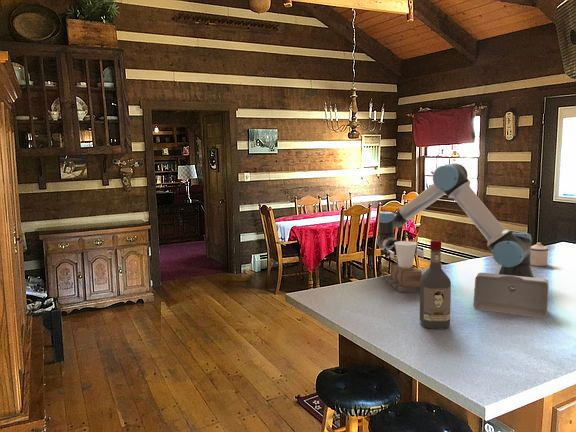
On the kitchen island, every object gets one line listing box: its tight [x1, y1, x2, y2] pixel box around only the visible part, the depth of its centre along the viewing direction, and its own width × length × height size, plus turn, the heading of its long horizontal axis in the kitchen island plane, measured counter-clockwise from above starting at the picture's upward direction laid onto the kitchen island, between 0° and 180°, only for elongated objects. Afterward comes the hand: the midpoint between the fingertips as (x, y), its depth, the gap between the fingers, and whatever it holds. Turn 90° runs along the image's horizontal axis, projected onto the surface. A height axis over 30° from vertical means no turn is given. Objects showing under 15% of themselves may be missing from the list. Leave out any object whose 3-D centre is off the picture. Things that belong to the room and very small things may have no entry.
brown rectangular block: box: [385, 262, 423, 293], centre depth 213 cm, size 18×12×9 cm, turn 6°
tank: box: [472, 272, 549, 319], centre depth 180 cm, size 25×16×12 cm, turn 61°
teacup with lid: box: [530, 242, 549, 267], centre depth 249 cm, size 12×9×12 cm
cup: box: [394, 240, 418, 268], centre depth 212 cm, size 10×10×11 cm
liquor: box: [419, 239, 452, 330], centre depth 163 cm, size 9×9×30 cm
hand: (408, 255), depth 208 cm, fingers open, 13 cm apart
